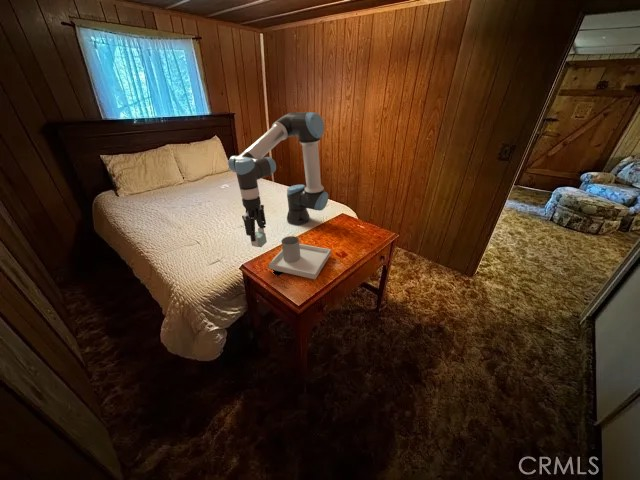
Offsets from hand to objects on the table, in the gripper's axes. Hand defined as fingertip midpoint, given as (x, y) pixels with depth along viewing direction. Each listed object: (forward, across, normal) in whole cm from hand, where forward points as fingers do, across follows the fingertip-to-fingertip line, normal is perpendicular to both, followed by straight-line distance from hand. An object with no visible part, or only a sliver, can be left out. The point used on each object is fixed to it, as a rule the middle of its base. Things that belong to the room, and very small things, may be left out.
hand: (259, 243), depth 120 cm
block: (0, 0, 0) cm, 0 cm away
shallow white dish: (+12, -6, +18) cm, 23 cm away
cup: (+10, -7, +13) cm, 18 cm away
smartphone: (+13, +1, +6) cm, 14 cm away
